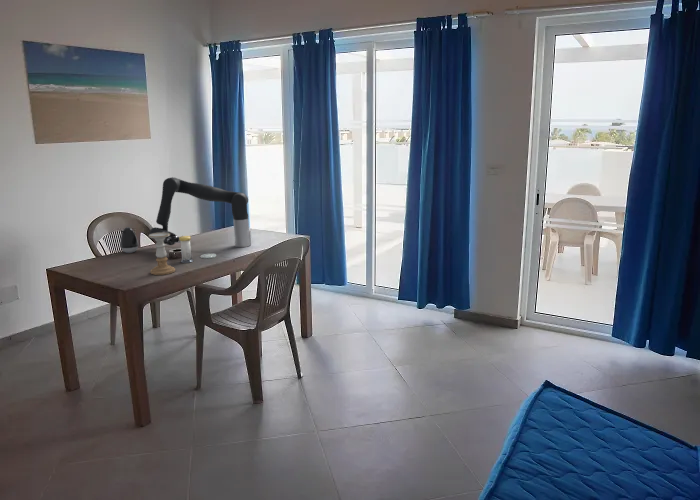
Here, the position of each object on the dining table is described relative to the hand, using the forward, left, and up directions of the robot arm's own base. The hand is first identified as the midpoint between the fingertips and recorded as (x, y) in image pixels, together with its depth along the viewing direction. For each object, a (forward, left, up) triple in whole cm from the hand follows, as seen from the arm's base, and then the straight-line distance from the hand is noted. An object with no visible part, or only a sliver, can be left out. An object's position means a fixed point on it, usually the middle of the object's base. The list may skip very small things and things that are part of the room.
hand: (178, 242), depth 305 cm
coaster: (-14, +8, -9) cm, 18 cm away
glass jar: (0, +11, -7) cm, 13 cm away
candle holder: (+18, +24, -9) cm, 31 cm away
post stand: (0, +11, -9) cm, 14 cm away
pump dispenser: (+18, -34, -9) cm, 40 cm away
